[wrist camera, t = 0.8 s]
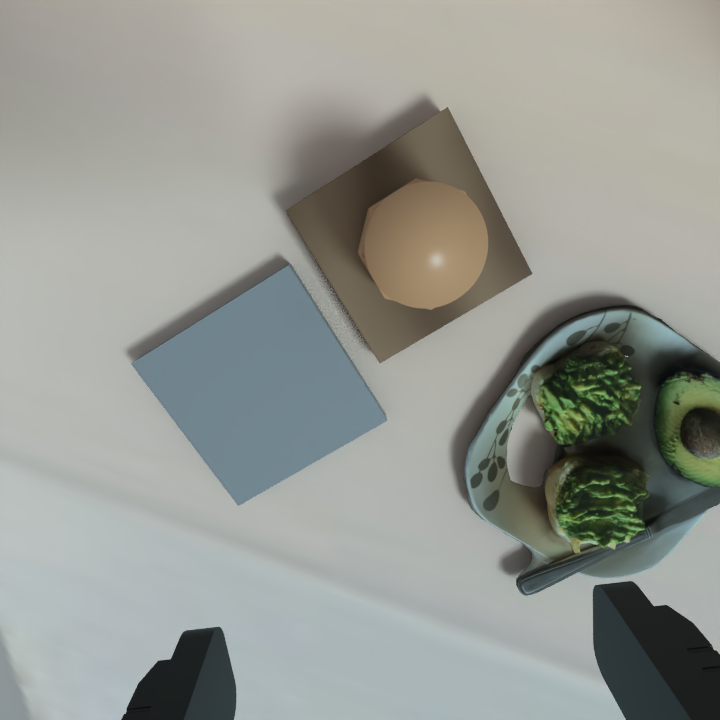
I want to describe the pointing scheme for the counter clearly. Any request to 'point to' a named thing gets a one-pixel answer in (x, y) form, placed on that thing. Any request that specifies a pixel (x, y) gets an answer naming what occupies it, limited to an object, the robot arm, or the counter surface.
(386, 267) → the cap
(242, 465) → the tile
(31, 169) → the counter surface
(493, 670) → the counter surface
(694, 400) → the salad plate
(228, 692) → the robot arm
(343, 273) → the post stand
